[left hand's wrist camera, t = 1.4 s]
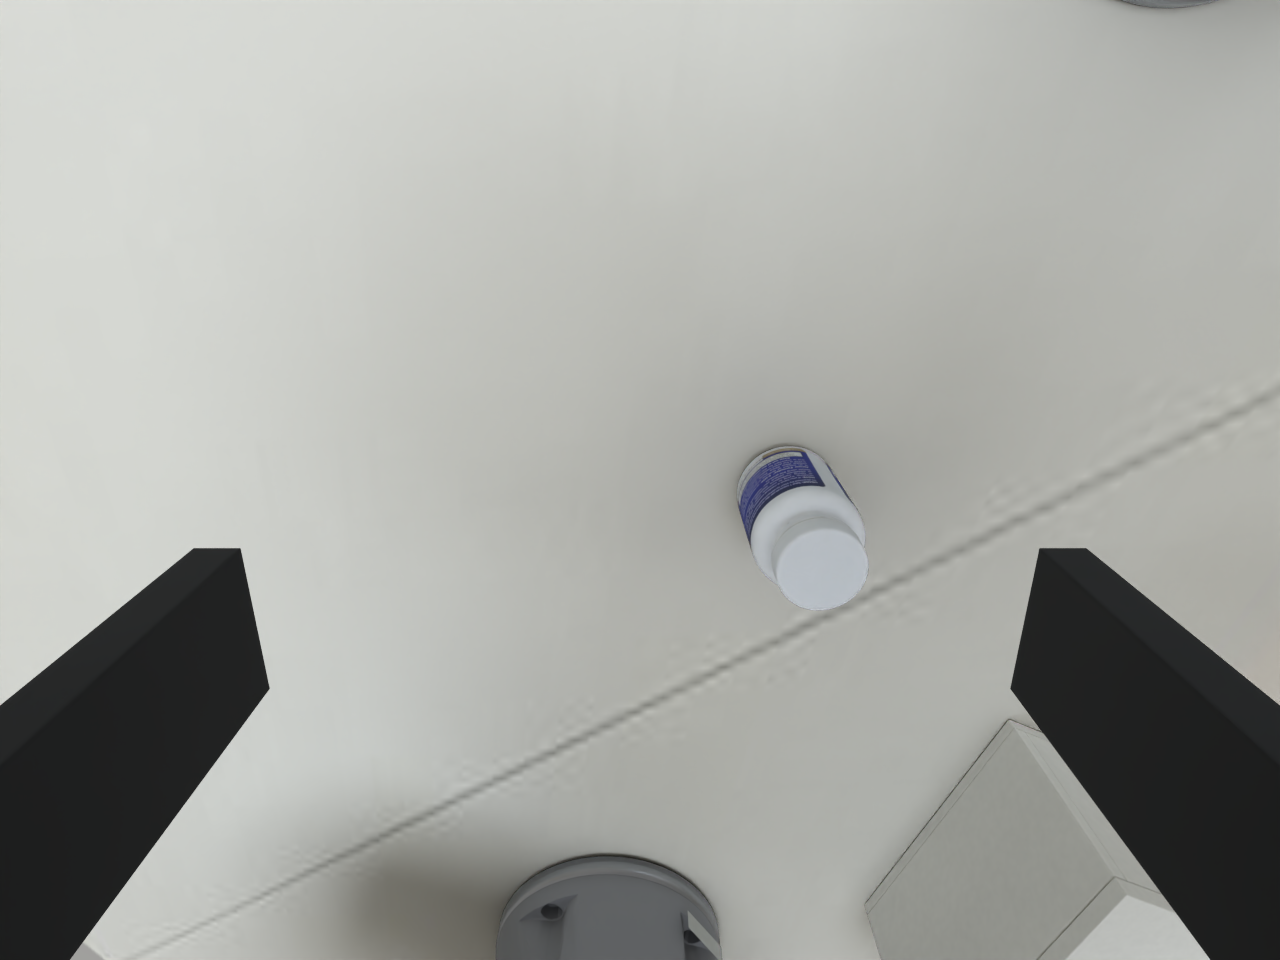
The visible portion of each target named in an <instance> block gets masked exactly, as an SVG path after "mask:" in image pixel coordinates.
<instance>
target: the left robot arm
mask: <svg viewBox="0 0 1280 960" xmlns="http://www.w3.org/2000/svg"><path fill="white" fill-rule="evenodd" d="M269 689H270V688H269V684H268V679H267V674H266V669H265V664H264V660H263V655H262V650H261V645H260V640H259V635H258V631H257V626H256V621H255V616H254V611H253V607H252V602H251V597H250V592H249V587H248V582H247V578H246V573H245V568H244V563H243V558H242V554H241V549H240V548H194V549H192V550H191V551H190V552H189V553H188V554H186V555H185V556H184V557H183V558H181V559H180V560H179V561H178V562H176V563H175V564H174V565H173V566H172V567H170V568H169V569H168V570H167V571H165V572H164V573H163V574H162V575H160V576H159V577H158V578H157V579H155V580H154V581H153V582H152V583H151V584H149V585H148V586H147V587H146V588H144V589H143V590H142V591H141V592H139V593H138V594H137V595H136V596H135V597H133V598H132V599H131V600H130V601H128V602H127V603H126V604H125V605H123V606H122V607H121V608H120V609H119V610H117V611H116V612H115V613H114V614H112V615H111V616H110V617H109V618H107V619H106V620H105V621H104V622H103V623H101V624H100V625H99V626H98V627H96V628H95V629H94V630H93V631H91V632H90V633H89V634H88V635H87V636H85V637H84V638H83V639H82V640H80V641H79V642H78V643H77V644H75V645H74V646H73V647H72V648H71V649H69V650H68V651H67V652H66V653H64V654H63V655H62V656H61V657H59V658H58V659H57V660H56V661H55V662H53V663H52V664H51V665H50V666H48V667H47V668H46V669H45V670H43V671H42V672H41V673H40V674H38V675H37V676H36V677H35V678H34V679H32V680H31V681H30V682H29V683H27V684H26V685H25V686H24V687H22V688H21V689H20V690H19V691H18V692H16V693H15V694H14V695H13V696H11V697H10V698H9V699H8V700H6V701H5V702H4V703H3V704H2V705H0V960H70V959H71V957H72V956H73V955H74V953H75V952H76V951H77V949H78V948H79V947H80V945H81V944H82V942H83V941H84V940H85V938H86V937H87V936H88V934H89V933H90V932H91V930H92V929H93V928H94V926H95V925H96V923H97V922H98V921H99V919H100V918H101V917H102V915H103V914H104V913H105V911H106V910H107V909H108V907H109V906H110V905H111V903H112V902H113V900H114V899H115V898H116V896H117V895H118V894H119V892H120V891H121V890H122V888H123V887H124V886H125V884H126V883H127V881H128V880H129V879H130V877H131V876H132V875H133V873H134V872H135V871H136V869H137V868H138V867H139V865H140V864H141V862H142V861H143V860H144V858H145V857H146V856H147V854H148V853H149V852H150V850H151V849H152V848H153V846H154V845H155V843H156V842H157V841H158V839H159V838H160V837H161V835H162V834H163V833H164V831H165V830H166V829H167V827H168V826H169V824H170V823H171V822H172V820H173V819H174V818H175V816H176V815H177V814H178V812H179V811H180V810H181V808H182V807H183V805H184V804H185V803H186V801H187V800H188V799H189V797H190V796H191V795H192V793H193V792H194V791H195V789H196V788H197V786H198V785H199V784H200V782H201V781H202V780H203V778H204V777H205V776H206V774H207V773H208V772H209V770H210V769H211V767H212V766H213V765H214V763H215V762H216V761H217V759H218V758H219V757H220V755H221V754H222V753H223V751H224V750H225V748H226V747H227V746H228V744H229V743H230V742H231V740H232V739H233V738H234V736H235V735H236V734H237V732H238V731H239V729H240V728H241V727H242V725H243V724H244V723H245V721H246V720H247V719H248V717H249V716H250V715H251V713H252V712H253V710H254V709H255V708H256V706H257V705H258V704H259V702H260V701H261V700H262V698H263V697H264V696H265V694H266V693H267V691H268V690H269ZM1010 689H1011V690H1012V691H1013V693H1014V694H1015V696H1016V697H1017V698H1018V700H1019V701H1020V702H1021V704H1022V705H1023V706H1024V708H1025V709H1026V710H1027V712H1028V713H1029V715H1030V716H1031V717H1032V719H1033V720H1034V721H1035V723H1036V724H1037V725H1038V727H1039V728H1040V729H1041V731H1042V732H1043V734H1044V735H1045V736H1046V738H1047V739H1048V740H1049V742H1050V743H1051V744H1052V746H1053V747H1054V748H1055V750H1056V751H1057V753H1058V754H1059V755H1060V757H1061V758H1062V759H1063V761H1064V762H1065V763H1066V765H1067V766H1068V767H1069V769H1070V770H1071V772H1072V773H1073V774H1074V776H1075V777H1076V778H1077V780H1078V781H1079V782H1080V784H1081V785H1082V786H1083V788H1084V789H1085V791H1086V792H1087V793H1088V795H1089V796H1090V797H1091V799H1092V800H1093V801H1094V803H1095V804H1096V805H1097V807H1098V808H1099V810H1100V811H1101V812H1102V814H1103V815H1104V816H1105V818H1106V819H1107V820H1108V822H1109V823H1110V824H1111V826H1112V827H1113V829H1114V830H1115V831H1116V833H1117V834H1118V835H1119V837H1120V838H1121V839H1122V841H1123V842H1124V843H1125V845H1126V846H1127V848H1128V849H1129V850H1130V852H1131V853H1132V854H1133V856H1134V857H1135V858H1136V860H1137V861H1138V862H1139V864H1140V865H1141V867H1142V868H1143V869H1144V871H1145V872H1146V873H1147V875H1148V876H1149V877H1150V879H1151V880H1152V881H1153V883H1154V884H1155V886H1156V887H1157V888H1158V890H1159V891H1160V892H1161V894H1162V895H1163V896H1164V898H1165V899H1166V900H1167V902H1168V903H1169V905H1170V906H1171V907H1172V909H1173V910H1174V911H1175V913H1176V914H1177V915H1178V917H1179V918H1180V919H1181V921H1182V922H1183V923H1184V925H1185V926H1186V928H1187V929H1188V930H1189V932H1190V933H1191V934H1192V936H1193V937H1194V938H1195V940H1196V941H1197V942H1198V944H1199V945H1200V947H1201V948H1202V949H1203V951H1204V952H1205V953H1206V955H1207V956H1208V957H1209V959H1210V960H1280V705H1278V704H1277V703H1276V702H1275V701H1274V700H1272V699H1271V698H1270V697H1269V696H1267V695H1266V694H1265V693H1264V692H1262V691H1261V690H1260V689H1259V688H1258V687H1256V686H1255V685H1254V684H1253V683H1251V682H1250V681H1249V680H1248V679H1246V678H1245V677H1244V676H1243V675H1242V674H1240V673H1239V672H1238V671H1237V670H1235V669H1234V668H1233V667H1232V666H1230V665H1229V664H1228V663H1227V662H1225V661H1224V660H1223V659H1222V658H1221V657H1219V656H1218V655H1217V654H1216V653H1214V652H1213V651H1212V650H1211V649H1209V648H1208V647H1207V646H1206V645H1205V644H1203V643H1202V642H1201V641H1200V640H1198V639H1197V638H1196V637H1195V636H1193V635H1192V634H1191V633H1190V632H1189V631H1187V630H1186V629H1185V628H1184V627H1182V626H1181V625H1180V624H1179V623H1177V622H1176V621H1175V620H1174V619H1173V618H1171V617H1170V616H1169V615H1168V614H1166V613H1165V612H1164V611H1163V610H1161V609H1160V608H1159V607H1158V606H1157V605H1155V604H1154V603H1153V602H1152V601H1150V600H1149V599H1148V598H1147V597H1145V596H1144V595H1143V594H1142V593H1141V592H1139V591H1138V590H1137V589H1136V588H1134V587H1133V586H1132V585H1131V584H1129V583H1128V582H1127V581H1126V580H1125V579H1123V578H1122V577H1121V576H1120V575H1118V574H1117V573H1116V572H1115V571H1113V570H1112V569H1111V568H1110V567H1108V566H1107V565H1106V564H1105V563H1104V562H1102V561H1101V560H1100V559H1099V558H1097V557H1096V556H1095V555H1094V554H1092V553H1091V552H1090V551H1089V550H1088V549H1086V548H1040V549H1039V554H1038V558H1037V563H1036V568H1035V573H1034V578H1033V582H1032V587H1031V592H1030V597H1029V602H1028V607H1027V611H1026V616H1025V621H1024V626H1023V631H1022V635H1021V640H1020V645H1019V650H1018V655H1017V660H1016V664H1015V669H1014V674H1013V679H1012V684H1011V688H1010ZM496 960H722V951H721V946H720V940H719V930H718V924H717V920H716V917H715V914H714V912H713V910H712V908H711V906H710V904H709V903H708V901H707V900H706V899H705V897H704V896H703V895H702V894H701V893H700V892H699V890H698V889H696V888H695V887H694V886H693V885H692V884H691V883H690V882H688V881H687V880H685V879H684V878H683V877H681V876H679V875H678V874H676V873H674V872H672V871H670V870H668V869H666V868H664V867H661V866H658V865H656V864H653V863H649V862H646V861H642V860H637V859H632V858H625V857H613V856H601V857H588V858H582V859H576V860H572V861H568V862H565V863H561V864H558V865H556V866H553V867H551V868H548V869H546V870H544V871H542V872H541V873H539V874H537V875H535V876H534V877H532V878H531V879H529V880H528V881H527V882H526V883H524V884H523V885H522V886H521V887H520V888H519V889H518V890H517V891H516V892H515V893H514V895H513V896H512V897H511V899H510V900H509V902H508V903H507V905H506V907H505V909H504V911H503V914H502V917H501V921H500V926H499V931H498V937H497V943H496Z"/></svg>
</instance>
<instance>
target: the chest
mask: <svg viewBox="0 0 1280 960" xmlns="http://www.w3.org/2000/svg"><path fill="white" fill-rule="evenodd" d="M1115 877H1116V878H1118V879H1121V880H1124V881H1126V882H1129V883H1132V884H1134V885H1137V886H1140V887H1142V888H1145V889H1148V890H1150V891H1153V892H1156V893H1158V894H1161V892H1160V891H1159V890H1158V888H1157V887H1156V886H1155V884H1154V883H1153V881H1152V880H1151V879H1150V877H1149V876H1148V875H1147V873H1146V872H1145V871H1144V869H1143V868H1142V867H1141V865H1140V864H1139V862H1138V861H1137V860H1136V858H1135V857H1134V856H1133V854H1132V853H1131V852H1130V850H1129V849H1128V848H1127V846H1126V845H1125V843H1124V842H1123V841H1122V839H1121V838H1120V837H1119V835H1118V834H1117V833H1116V831H1115V830H1114V829H1113V827H1112V826H1111V824H1110V823H1109V822H1108V820H1107V819H1106V818H1105V816H1104V815H1103V814H1102V812H1101V811H1100V810H1099V808H1098V807H1097V805H1096V804H1095V803H1094V801H1093V800H1092V799H1091V797H1090V796H1089V795H1088V793H1087V792H1086V791H1085V789H1084V788H1083V786H1082V785H1081V784H1080V782H1079V781H1078V780H1077V778H1076V777H1075V776H1074V774H1073V773H1072V772H1071V770H1070V769H1069V767H1068V766H1067V765H1066V763H1065V762H1064V761H1063V759H1062V758H1061V757H1060V755H1059V754H1058V753H1057V751H1056V750H1055V748H1054V747H1053V746H1052V744H1051V743H1050V742H1049V740H1048V739H1047V738H1046V736H1045V735H1044V734H1043V733H1041V732H1039V731H1036V730H1034V729H1031V728H1029V727H1027V726H1024V725H1022V724H1019V723H1017V722H1014V721H1012V720H1008V721H1007V722H1006V724H1005V725H1004V726H1003V728H1002V729H1001V730H1000V731H999V733H998V734H997V735H996V737H995V738H994V739H993V740H992V742H991V743H990V744H989V746H988V747H987V748H986V749H985V751H984V752H983V753H982V755H981V756H980V757H979V758H978V760H977V761H976V762H975V764H974V765H973V766H972V767H971V769H970V770H969V771H968V773H967V774H966V775H965V776H964V778H963V779H962V780H961V782H960V783H959V784H958V785H957V787H956V788H955V789H954V791H953V792H952V793H951V794H950V796H949V797H948V798H947V800H946V801H945V802H944V803H943V805H942V806H941V807H940V809H939V810H938V811H937V812H936V814H935V815H934V816H933V818H932V819H931V820H930V821H929V823H928V824H927V825H926V827H925V828H924V829H923V830H922V832H921V833H920V834H919V836H918V837H917V838H916V839H915V841H914V842H913V843H912V845H911V846H910V847H909V848H908V850H907V851H906V852H905V854H904V855H903V856H902V857H901V859H900V860H899V861H898V863H897V864H896V865H895V866H894V868H893V869H892V870H891V872H890V873H889V874H888V875H887V877H886V878H885V879H884V881H883V882H882V883H881V884H880V886H879V887H878V888H877V890H876V891H875V892H874V893H873V895H872V896H871V897H870V899H869V900H868V901H867V902H866V904H865V908H866V912H867V914H868V918H869V922H870V925H871V928H872V931H873V935H874V938H875V941H876V945H877V948H878V951H879V955H880V958H881V960H1038V959H1039V958H1040V957H1041V956H1042V955H1043V954H1044V953H1045V952H1046V950H1047V949H1048V948H1049V947H1050V946H1051V945H1052V944H1053V943H1054V942H1055V941H1056V940H1057V939H1058V938H1059V936H1060V935H1061V934H1062V933H1063V932H1064V931H1065V930H1066V929H1067V928H1068V927H1069V926H1070V925H1071V924H1072V922H1073V921H1074V920H1075V919H1076V918H1077V917H1078V916H1079V915H1080V914H1081V913H1082V912H1083V911H1084V910H1085V908H1086V907H1087V906H1088V905H1089V904H1090V903H1091V902H1092V901H1093V900H1094V899H1095V898H1096V897H1097V896H1098V894H1099V893H1100V892H1101V891H1102V890H1103V889H1104V888H1105V887H1106V886H1107V885H1108V884H1109V883H1110V882H1111V880H1112V879H1113V878H1115ZM1161 895H1162V894H1161Z"/></svg>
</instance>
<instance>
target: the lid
mask: <svg viewBox="0 0 1280 960" xmlns="http://www.w3.org/2000/svg"><path fill="white" fill-rule="evenodd" d="M1038 960H1210V959H1209V957H1208V956H1207V955H1206V953H1205V952H1204V951H1203V949H1202V948H1201V947H1200V945H1199V944H1198V942H1197V941H1196V940H1195V938H1194V937H1193V936H1192V934H1191V933H1190V932H1189V930H1188V929H1187V928H1186V926H1185V925H1184V923H1183V922H1182V921H1181V919H1180V918H1179V917H1178V915H1177V914H1176V913H1175V911H1174V910H1173V909H1172V907H1171V906H1170V905H1169V903H1168V902H1167V900H1166V899H1165V898H1164V896H1163V895H1161V894H1158V893H1156V892H1153V891H1150V890H1148V889H1145V888H1142V887H1140V886H1137V885H1134V884H1132V883H1129V882H1126V881H1124V880H1121V879H1118V878H1116V877H1115V878H1113V879H1112V880H1111V882H1110V883H1109V884H1108V885H1107V886H1106V887H1105V888H1104V889H1103V890H1102V891H1101V892H1100V893H1099V894H1098V896H1097V897H1096V898H1095V899H1094V900H1093V901H1092V902H1091V903H1090V904H1089V905H1088V906H1087V907H1086V908H1085V910H1084V911H1083V912H1082V913H1081V914H1080V915H1079V916H1078V917H1077V918H1076V919H1075V920H1074V921H1073V922H1072V924H1071V925H1070V926H1069V927H1068V928H1067V929H1066V930H1065V931H1064V932H1063V933H1062V934H1061V935H1060V936H1059V938H1058V939H1057V940H1056V941H1055V942H1054V943H1053V944H1052V945H1051V946H1050V947H1049V948H1048V949H1047V950H1046V952H1045V953H1044V954H1043V955H1042V956H1041V957H1040V958H1039V959H1038Z"/></svg>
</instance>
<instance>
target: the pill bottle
mask: <svg viewBox="0 0 1280 960" xmlns="http://www.w3.org/2000/svg"><path fill="white" fill-rule="evenodd" d="M737 502H738V507H739V511H740V514H741V517H742V521H743V524H744V527H745V531H746V534H747V538H748V541H749V544H750V548H751V551H752V554H753V557H754V559H755V561H756V563H757V565H758V567H759V568H760V570H761V571H762V572H763V574H764V575H765V576H766V577H767V578H769V579H770V580H771V581H772V582H774V583H775V584H777V585H778V586H779V588H780V590H781V592H782V593H783V595H784V596H785V597H786V598H787V599H788V600H789V601H791V602H792V603H794V604H795V605H797V606H799V607H802V608H805V609H809V610H827V609H833V608H836V607H838V606H841V605H843V604H845V603H846V602H848V601H850V600H851V599H852V598H853V597H854V596H855V595H856V594H857V593H858V592H859V591H860V590H861V588H862V587H863V585H864V583H865V581H866V578H867V575H868V569H869V564H868V557H867V553H866V551H865V549H864V548H865V541H866V533H865V527H864V523H863V520H862V518H861V515H860V514H859V512H858V510H857V508H856V507H855V505H854V504H853V502H852V501H851V499H850V498H849V496H848V495H847V493H846V492H845V490H844V489H843V487H842V486H841V484H840V482H839V481H838V479H837V478H836V476H835V474H834V473H833V471H832V470H831V468H830V467H829V466H828V464H827V463H826V462H825V461H824V460H823V459H822V458H821V457H820V456H818V455H817V454H816V453H814V452H812V451H810V450H808V449H805V448H801V447H796V446H784V447H778V448H774V449H771V450H768V451H766V452H764V453H762V454H761V455H759V456H758V457H756V458H755V459H754V460H753V461H752V462H751V463H750V464H749V465H748V466H747V467H746V469H745V470H744V472H743V474H742V475H741V478H740V480H739V483H738V488H737Z"/></svg>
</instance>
